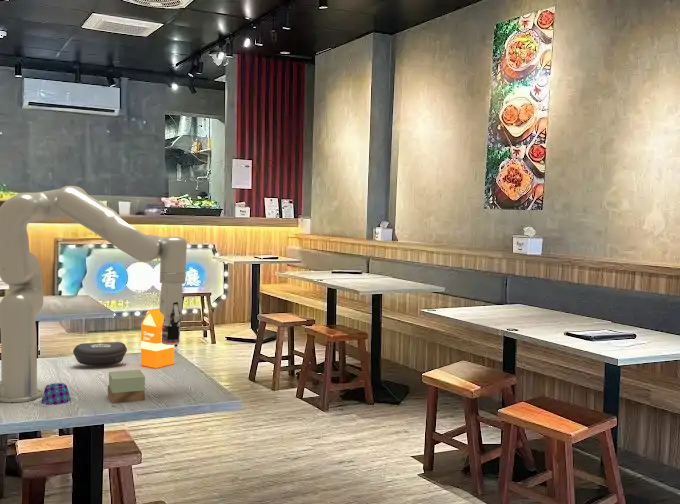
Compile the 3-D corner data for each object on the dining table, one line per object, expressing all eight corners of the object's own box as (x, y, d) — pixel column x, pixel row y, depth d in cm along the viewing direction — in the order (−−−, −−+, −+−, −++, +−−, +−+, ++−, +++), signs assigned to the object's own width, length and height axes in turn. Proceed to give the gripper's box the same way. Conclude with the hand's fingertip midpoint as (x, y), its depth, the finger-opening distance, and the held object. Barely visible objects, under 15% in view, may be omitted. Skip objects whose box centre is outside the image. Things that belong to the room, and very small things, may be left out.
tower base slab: (112, 406, 205) (112, 393, 205) (107, 398, 213) (108, 385, 213) (144, 403, 209) (144, 390, 208) (138, 395, 217) (138, 382, 217)
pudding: (65, 394, 215) (65, 377, 215) (85, 403, 207) (85, 385, 207) (26, 402, 206) (26, 384, 206) (45, 412, 198) (45, 393, 198)
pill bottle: (157, 343, 215) (158, 314, 215) (169, 340, 220) (170, 312, 219) (171, 346, 213) (172, 316, 212) (183, 343, 217) (184, 314, 217)
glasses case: (73, 369, 245) (73, 346, 244) (73, 362, 255) (73, 340, 254) (127, 366, 251) (128, 344, 251) (125, 359, 261) (125, 338, 260)
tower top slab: (112, 393, 205) (112, 379, 204) (108, 385, 213) (108, 371, 212) (144, 390, 208) (144, 376, 208) (139, 382, 216) (139, 369, 216)
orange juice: (174, 363, 257) (175, 308, 255) (156, 368, 249) (156, 311, 248) (158, 360, 261) (159, 306, 260) (140, 364, 254) (140, 308, 252)
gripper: (154, 274, 221) (152, 332, 222) (166, 281, 206) (164, 343, 207) (178, 274, 224) (176, 331, 226) (192, 281, 209) (189, 342, 210)
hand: (170, 336), depth 216 cm, fingers closed on pill bottle, 5 cm apart
